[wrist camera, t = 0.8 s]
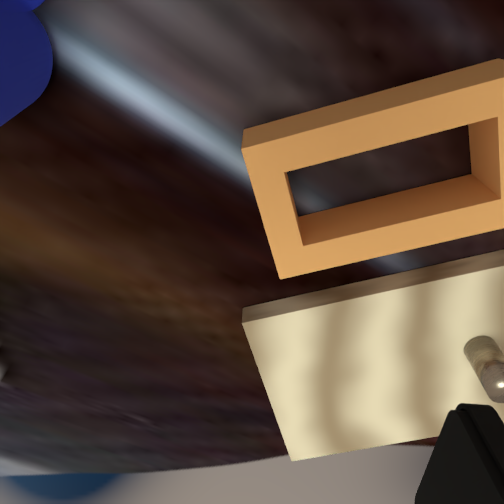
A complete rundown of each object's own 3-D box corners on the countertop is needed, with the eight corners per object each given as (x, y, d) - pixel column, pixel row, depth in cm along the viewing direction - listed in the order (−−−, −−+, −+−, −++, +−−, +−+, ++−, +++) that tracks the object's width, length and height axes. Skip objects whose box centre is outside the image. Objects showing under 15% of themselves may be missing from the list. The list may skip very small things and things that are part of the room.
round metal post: (495, 332, 36) (523, 374, 32) (496, 356, 37) (524, 399, 33) (462, 339, 36) (487, 381, 32) (464, 362, 37) (488, 406, 34)
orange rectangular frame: (498, 58, 29) (536, 68, 25) (503, 193, 33) (536, 220, 29) (243, 129, 31) (241, 149, 27) (277, 247, 35) (280, 279, 31)
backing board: (592, 229, 34) (611, 242, 32) (583, 390, 41) (597, 408, 40) (242, 307, 38) (241, 323, 36) (290, 443, 45) (291, 461, 43)
